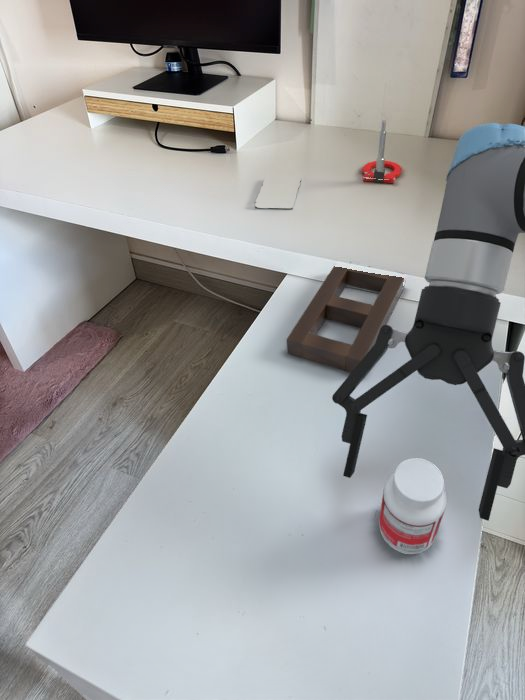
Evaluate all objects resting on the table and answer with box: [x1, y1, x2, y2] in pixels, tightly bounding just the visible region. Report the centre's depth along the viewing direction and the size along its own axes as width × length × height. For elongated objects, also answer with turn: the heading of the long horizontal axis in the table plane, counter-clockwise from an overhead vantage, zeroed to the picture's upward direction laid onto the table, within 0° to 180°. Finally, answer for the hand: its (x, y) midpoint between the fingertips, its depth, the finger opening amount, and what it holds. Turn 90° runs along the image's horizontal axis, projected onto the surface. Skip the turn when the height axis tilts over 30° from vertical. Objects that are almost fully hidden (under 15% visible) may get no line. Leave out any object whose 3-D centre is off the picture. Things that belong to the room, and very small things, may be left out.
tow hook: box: [362, 119, 402, 184], centre depth 108 cm, size 8×13×9 cm
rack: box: [286, 265, 406, 373], centre depth 80 cm, size 12×21×3 cm, turn 152°
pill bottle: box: [378, 457, 448, 555], centre depth 52 cm, size 6×6×11 cm
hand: (413, 494), depth 52 cm, fingers open, 13 cm apart
